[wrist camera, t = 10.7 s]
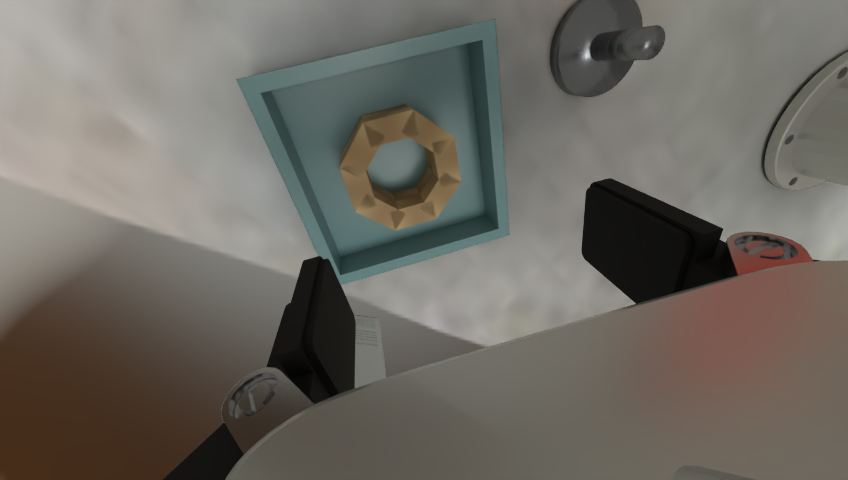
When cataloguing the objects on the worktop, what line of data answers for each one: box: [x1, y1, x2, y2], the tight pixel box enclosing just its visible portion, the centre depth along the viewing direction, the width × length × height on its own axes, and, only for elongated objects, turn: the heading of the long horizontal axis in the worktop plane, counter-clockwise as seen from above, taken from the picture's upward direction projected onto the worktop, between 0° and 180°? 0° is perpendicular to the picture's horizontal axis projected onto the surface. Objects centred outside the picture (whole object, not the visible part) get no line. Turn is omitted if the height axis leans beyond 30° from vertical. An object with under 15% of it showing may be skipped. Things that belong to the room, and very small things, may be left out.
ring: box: [339, 104, 461, 231], centre depth 20 cm, size 7×7×3 cm
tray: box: [236, 19, 509, 285], centre depth 21 cm, size 14×14×3 cm
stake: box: [550, 0, 665, 97], centre depth 19 cm, size 6×6×5 cm
